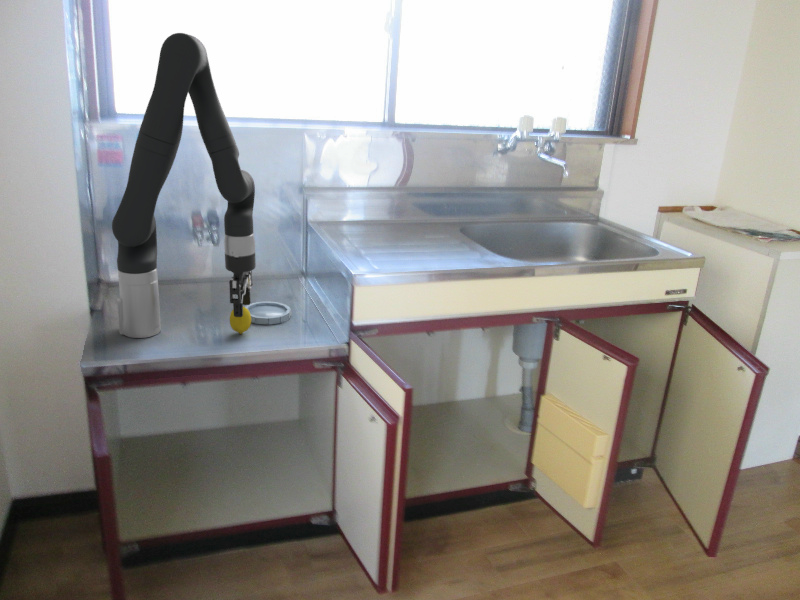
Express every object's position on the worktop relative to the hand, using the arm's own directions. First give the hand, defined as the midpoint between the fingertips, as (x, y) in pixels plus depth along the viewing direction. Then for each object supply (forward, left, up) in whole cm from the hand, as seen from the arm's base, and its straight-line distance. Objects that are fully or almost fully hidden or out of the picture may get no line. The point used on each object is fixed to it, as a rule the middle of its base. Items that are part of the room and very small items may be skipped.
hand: (242, 310), depth 174 cm
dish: (+4, +14, -7) cm, 15 cm away
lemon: (0, 0, -7) cm, 7 cm away
